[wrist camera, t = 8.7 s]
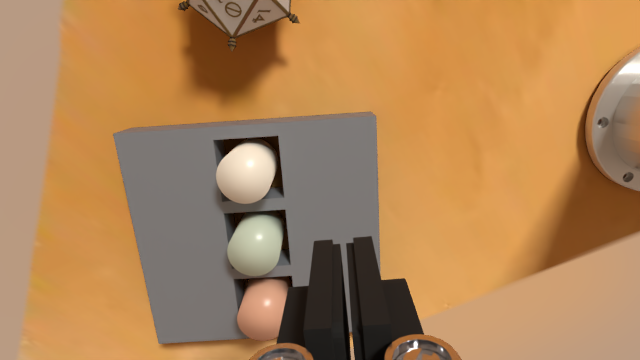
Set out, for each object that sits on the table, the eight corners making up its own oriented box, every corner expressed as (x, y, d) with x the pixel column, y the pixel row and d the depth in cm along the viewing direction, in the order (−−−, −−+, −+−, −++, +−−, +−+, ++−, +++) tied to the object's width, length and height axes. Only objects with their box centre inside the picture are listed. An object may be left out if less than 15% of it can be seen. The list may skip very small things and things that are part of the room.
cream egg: (275, 136, 32) (268, 148, 27) (280, 182, 33) (274, 201, 28) (228, 139, 32) (212, 152, 27) (234, 185, 33) (220, 205, 28)
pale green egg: (282, 204, 34) (276, 226, 29) (286, 246, 35) (281, 274, 30) (237, 207, 34) (223, 230, 29) (242, 248, 35) (230, 277, 30)
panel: (370, 111, 32) (376, 115, 29) (376, 309, 37) (381, 330, 34) (131, 127, 32) (113, 133, 29) (171, 322, 37) (158, 343, 34)
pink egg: (288, 265, 35) (284, 296, 30) (292, 303, 36) (288, 339, 32) (245, 268, 35) (234, 299, 30) (250, 306, 36) (240, 342, 32)
